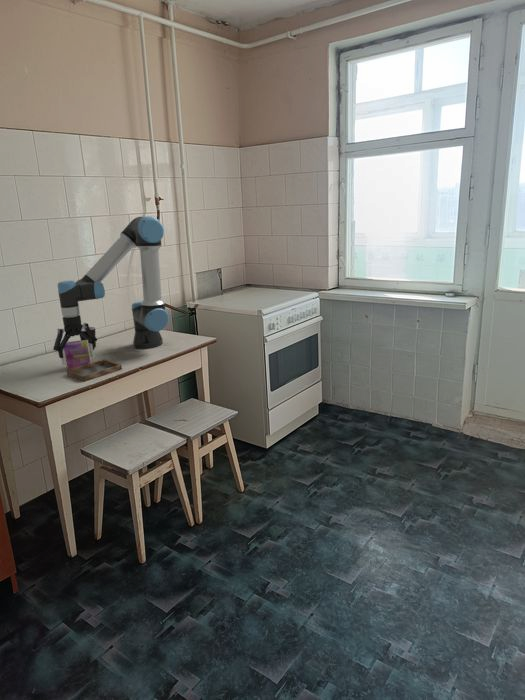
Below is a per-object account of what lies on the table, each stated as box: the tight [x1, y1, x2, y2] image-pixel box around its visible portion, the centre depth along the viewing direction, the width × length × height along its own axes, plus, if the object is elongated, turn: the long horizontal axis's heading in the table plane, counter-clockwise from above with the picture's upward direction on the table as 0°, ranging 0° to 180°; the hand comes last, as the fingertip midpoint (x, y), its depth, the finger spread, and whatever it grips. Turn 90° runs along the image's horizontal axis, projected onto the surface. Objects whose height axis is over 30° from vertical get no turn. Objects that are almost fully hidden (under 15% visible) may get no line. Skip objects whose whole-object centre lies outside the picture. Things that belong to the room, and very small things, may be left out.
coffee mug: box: [78, 326, 97, 349], centre depth 261 cm, size 12×9×10 cm
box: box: [63, 339, 93, 370], centre depth 228 cm, size 10×6×12 cm, turn 105°
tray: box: [66, 359, 123, 382], centre depth 220 cm, size 19×15×2 cm
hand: (78, 360), depth 229 cm, fingers open, 13 cm apart
